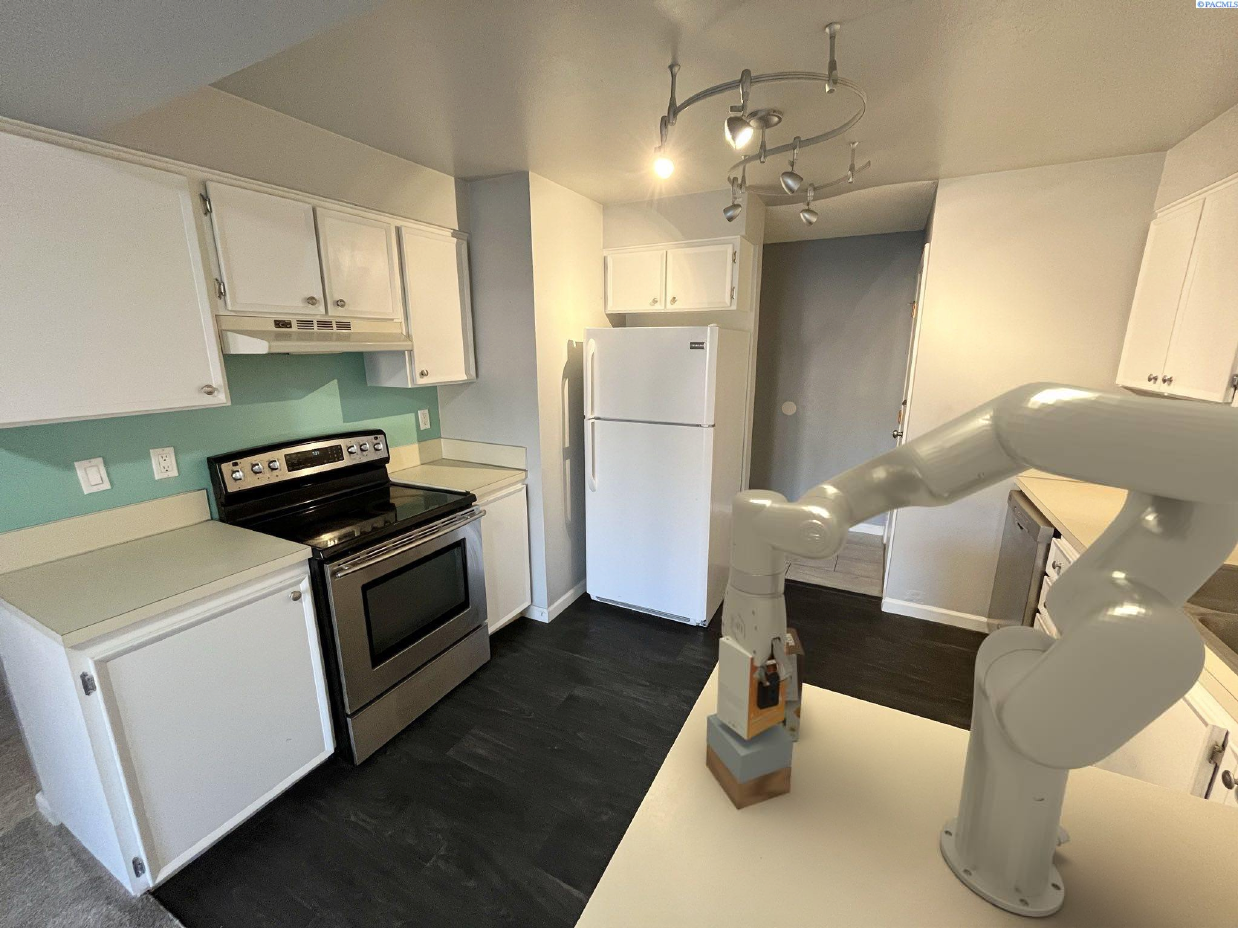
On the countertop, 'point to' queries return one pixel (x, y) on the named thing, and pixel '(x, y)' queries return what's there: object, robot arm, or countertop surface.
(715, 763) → the tower base block
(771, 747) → the tower top block
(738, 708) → the small box
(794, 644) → the coffee box
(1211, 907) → the countertop surface
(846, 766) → the countertop surface
